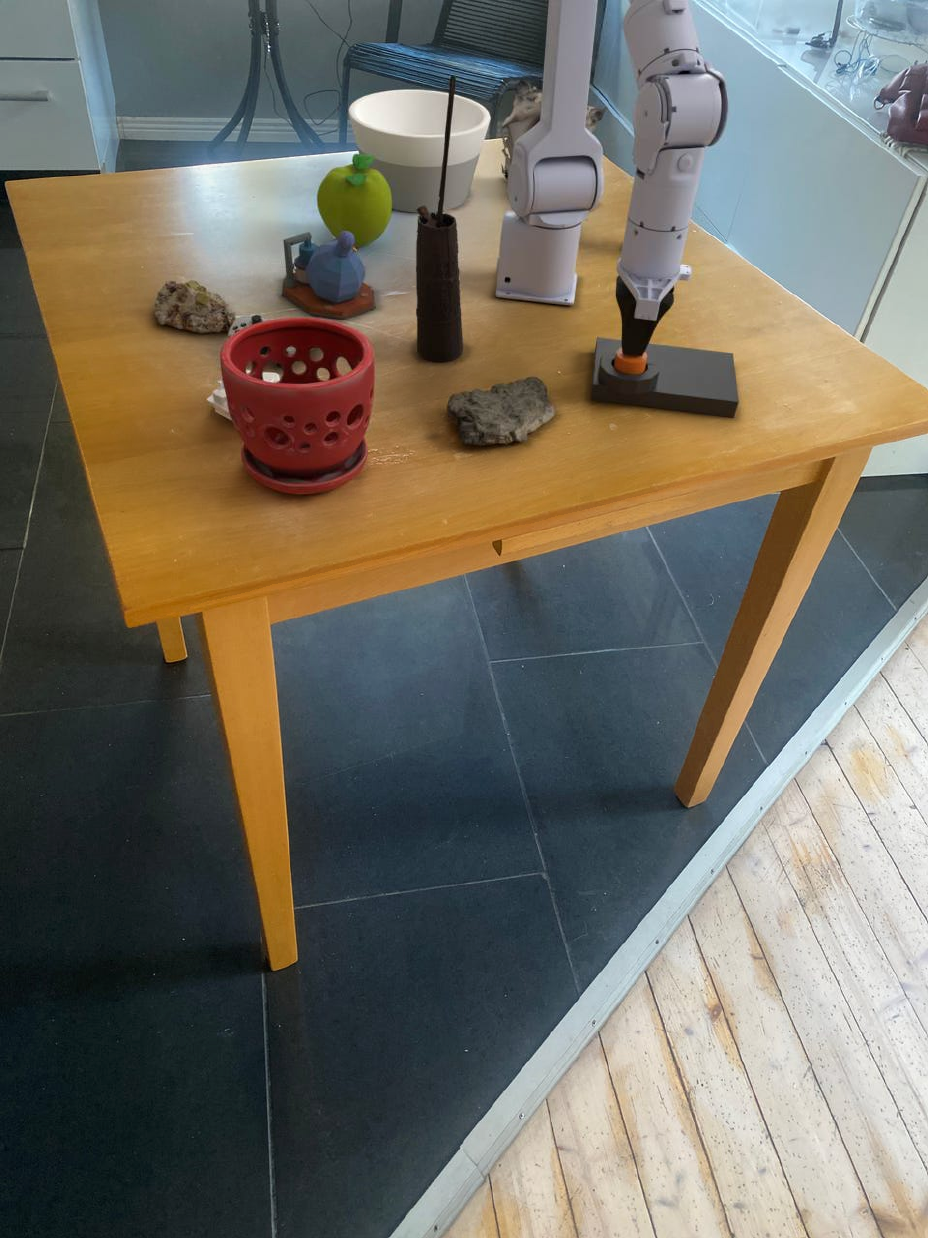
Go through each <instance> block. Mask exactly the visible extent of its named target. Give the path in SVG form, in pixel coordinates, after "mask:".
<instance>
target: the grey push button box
mask: <svg viewBox="0 0 928 1238" xmlns="http://www.w3.org/2000/svg"><path fill="white" fill-rule="evenodd" d="M594 347H595V348H594V354H593V365H592V377H591V389H590V401H594V402H595V401H596V402H604V403H613V404H619V405H620V404H621V405H628V406H636V407H637V406H638V407H645V408H653V409H661V410H669V411H676V412H677V411H678V412H686V413H692V414H693V413H694V414H701V415H711V416H719V417H727V418H735V416H736V412H737V409H738V406H739V402H740V401H739V394H738V386H737V385H738V384H737V378H736V377H737V376H736V368H735V358H734V353H733V352H725V351H716V350H708V349H699V348H692V347H685V346H676V345H668V344H667V345H665V344H659V343H658V344H657V343H650V342H649V344H648V346H647V348H646V350H645V352H646V354H647V361H646V366H645V370H644V372H643V373H642V374H636V375H632V374H624V373H622V372H620V371H617V370H616V369H615V368H614V362H615V357H616V352H617V350H618V349H620V348H622V339H615V338H607V337H598V336H597V337H596V341H595V346H594Z"/></svg>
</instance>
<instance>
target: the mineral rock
mask: <svg viewBox="0 0 928 1238" xmlns="http://www.w3.org/2000/svg"><path fill="white" fill-rule="evenodd" d="M156 295H157V296H156V299H155V300H156V301H155V302H154V317H156V318H157V322H158V323H159V324H160V325H167V326H171V327H173V328H176V329H178V330H189V331H191V332H195V333H198V334H205V333H213V332H214V333H221V332H226V333H229V330H230V328H231V326H232V324H233V322H234V321H235V320H236V317H235V316H236V313H235V312H234V311H233V310H231V308H230V305H229V304H228V303H227V302H226V301H225V300H223V298H222V297H221V295H219V294H218V293H214V292H211V291H210V290H207V287H205V286H204V285H201V284H200V283H199V281H197V280H191V279H190V280H188V281H185V282H176V281H175V280H168V281H167V280H166V281H164V284H163V286H162V288H160V290H158V291H157V294H156Z"/></svg>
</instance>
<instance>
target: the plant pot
mask: <svg viewBox="0 0 928 1238" xmlns="http://www.w3.org/2000/svg"><path fill="white" fill-rule="evenodd" d="M265 346H267V347H268V352H267V353H266V354H265V355H262V354H260V350H261V349H262V348H263V347H265ZM288 347H294V348H295V349H296V352H295V353H294V354H292V355H288V354H287V353H286V349H287V348H288ZM313 348H315V349H318V350H320V351H321V352H322V358H321V359H315V358H314V357H312V355H311V351H310V350H311V349H313ZM339 358H342V359H344V360H345V361H346V363H347V364H348V366H349V367H350V369H351V370H350V371H348V372H347V373H345V374H343V375H342V374H341V373H340V371H339V370H338V366H337V363H338V359H339ZM219 361H220V362H219V363H220V373H221V376H222V378H221V381H222V380H223V384H224V389H225V393H226V398H227V404H228V410H229V413H230V416H231V419H232V420H231V422H232V424H233V427H234V429H235V431H236V433H237V435H238V437H239V439H240V440H241V442H242V446H241V450H240V458H241V462H242V464H243V466H244V468H245V470H246V471H247V473H248V474H249V475H250V476H251V477H252V478H253V479H255V480H256V481H257V482H259V483H260V484H262V485H264V486H266V487H267V488H269V489H272V490H274V491H277V492H281V493H285V494H292V495H311V494H320V493H324V492H329V491H331V490H335V489H337V488H340V487H342V486H344V485H345V484H347V483H348V482H350V481H352V480H353V479H354V478H355V477H356V476H357V475H358V474H360V472H362V470H363V469H364V467H365V465H366V462H367V459H368V454H369V447H368V446H369V445H368V443H367V440H366V438H365V435H366V432H367V430H368V427H369V424H370V420H371V418H372V417H371V416H372V411H373V404H374V399H375V378H376V377H375V375H376V374H375V373H376V371H375V370H376V368H375V367H376V366H375V352H374V347H373V346H372V343H371V342H370V341H369V339H368V337H366V336H365V335H364V334H363V333H362V332H360V331H358V330H357V329H355V328H353V327H351V326H349V325H346V324H345V323H341V322H339V321H335V320H329V319H325V318H317V317H302V316H301V317H299V316H298V317H297V316H296V317H295V316H292V317H291V316H290V317H281V318H275V319H269V320H268V321H263V322H260V323H256V324H253V325H250V326H248V327H246V328H244V329H242V330H240V331H238V332H236V333H235V334H233V335H232V336H231V337H230V338H229V339H228V338H227V340H226V341H225V342H224V343H223V345H222V347H221V349H220V353H219ZM249 362H251V364H252V365H251V369H250V371H251V372H250V373H249V374H247V373H246V370H247V366H248V363H249ZM297 362H300V363H303V364H304V365H305V370H304V371H302V372H297V371H295V370H294V369H293V365H294V364H295V363H297ZM276 363H278V364H280V365H281V367H280V368H281V369H282V376H281V377H280V380H279V381H278V382H276V383H273V382H268V381H264V380H263V372H264V369H266V367H267V366H268V365H271V364H276ZM319 369H324V370H326V371H327V372H328V374H329V376H328V379H326V380H323V379H321V378H320V377H319V376H318V370H319Z"/></svg>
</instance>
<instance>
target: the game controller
mask: <svg viewBox="0 0 928 1238" xmlns="http://www.w3.org/2000/svg"><path fill="white" fill-rule="evenodd" d="M268 320H270V319H269V318H264V317H262V316H261V315H260V314H243V315H240V316H238V317H236V318H235V320H234V322H233V324H232V326H231V328H230V330H229V332H227V333H228V334H227V340H228V339H229V338H230V337H231V336H232V335H233V334H235V333H236V332H238V331H240V330H242V329H244V328H246V327H248V326H250V325H253V324H256V323H260V322H263V321H268ZM315 349H316V348H313V349H311V350H310V352H312V351H314V350H315ZM267 352H268V347H267V346H265V347H263V348H262V349H261V350H260V354H261V355H262V356H263V355H265V354H266V353H267ZM295 352H296V349H295V348H294V347H288V348H287V349H286V353H287V354H288V355H292V354H294V353H295ZM275 364H276V367H277V368H282V367H281V365H280V364H278V363H275Z"/></svg>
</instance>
